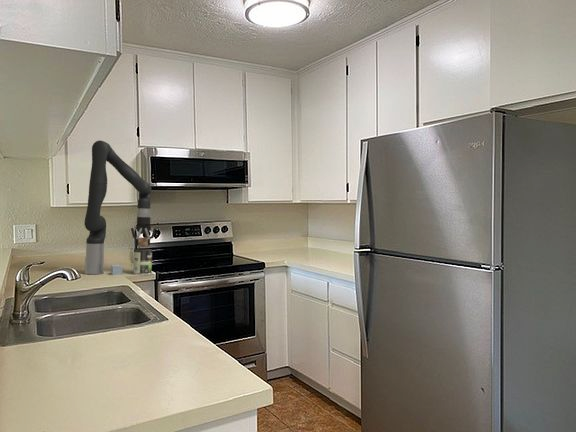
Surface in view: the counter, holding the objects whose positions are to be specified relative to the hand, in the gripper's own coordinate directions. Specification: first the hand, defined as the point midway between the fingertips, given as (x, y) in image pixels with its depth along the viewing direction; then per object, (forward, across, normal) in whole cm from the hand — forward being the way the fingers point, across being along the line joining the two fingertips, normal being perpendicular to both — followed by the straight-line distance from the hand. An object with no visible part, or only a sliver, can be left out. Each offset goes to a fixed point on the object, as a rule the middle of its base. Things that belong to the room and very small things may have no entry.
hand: (143, 245), depth 249 cm
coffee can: (+17, 0, 0) cm, 17 cm away
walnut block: (0, 0, 0) cm, 0 cm away
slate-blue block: (+16, -14, 0) cm, 22 cm away
